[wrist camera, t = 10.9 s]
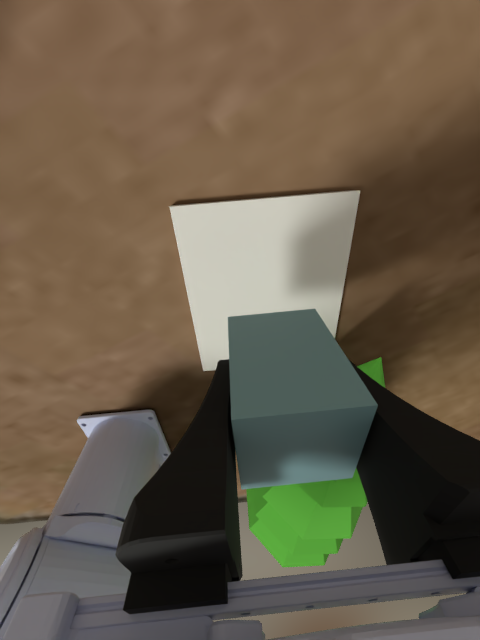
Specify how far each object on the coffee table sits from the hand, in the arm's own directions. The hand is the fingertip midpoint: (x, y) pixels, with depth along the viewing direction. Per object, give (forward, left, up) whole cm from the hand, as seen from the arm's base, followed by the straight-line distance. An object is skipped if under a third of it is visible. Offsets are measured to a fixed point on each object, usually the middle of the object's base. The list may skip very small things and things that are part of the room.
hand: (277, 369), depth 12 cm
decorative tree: (-17, -5, -9) cm, 20 cm away
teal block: (0, 0, -2) cm, 2 cm away
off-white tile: (0, -1, -8) cm, 8 cm away
